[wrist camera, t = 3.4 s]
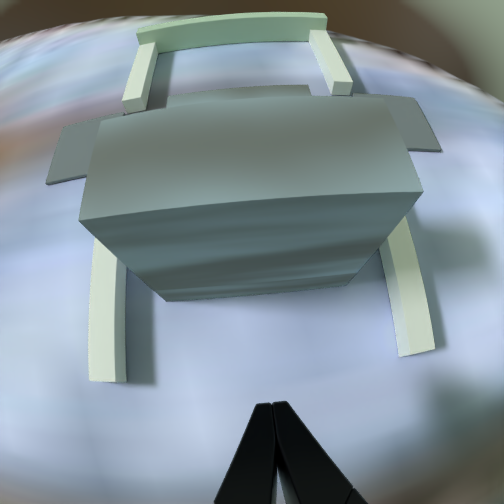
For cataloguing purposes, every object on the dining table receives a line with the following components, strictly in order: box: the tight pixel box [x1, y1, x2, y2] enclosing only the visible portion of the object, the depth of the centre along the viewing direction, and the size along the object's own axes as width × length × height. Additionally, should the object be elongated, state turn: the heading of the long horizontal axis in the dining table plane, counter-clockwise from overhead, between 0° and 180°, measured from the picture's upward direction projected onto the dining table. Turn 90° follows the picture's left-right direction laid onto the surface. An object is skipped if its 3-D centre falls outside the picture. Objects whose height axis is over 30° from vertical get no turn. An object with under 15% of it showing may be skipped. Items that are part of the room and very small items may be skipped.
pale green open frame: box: [88, 12, 435, 382], centre depth 20 cm, size 30×18×3 cm, turn 5°
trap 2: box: [46, 112, 125, 185], centre depth 22 cm, size 6×6×1 cm
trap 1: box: [352, 93, 441, 152], centre depth 22 cm, size 6×6×1 cm
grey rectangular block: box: [78, 85, 424, 302], centre depth 15 cm, size 14×10×10 cm
